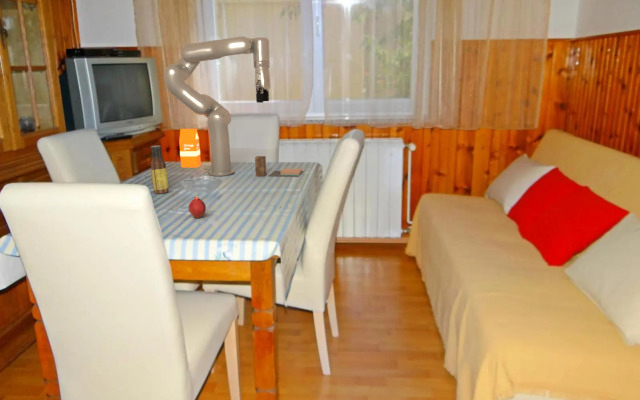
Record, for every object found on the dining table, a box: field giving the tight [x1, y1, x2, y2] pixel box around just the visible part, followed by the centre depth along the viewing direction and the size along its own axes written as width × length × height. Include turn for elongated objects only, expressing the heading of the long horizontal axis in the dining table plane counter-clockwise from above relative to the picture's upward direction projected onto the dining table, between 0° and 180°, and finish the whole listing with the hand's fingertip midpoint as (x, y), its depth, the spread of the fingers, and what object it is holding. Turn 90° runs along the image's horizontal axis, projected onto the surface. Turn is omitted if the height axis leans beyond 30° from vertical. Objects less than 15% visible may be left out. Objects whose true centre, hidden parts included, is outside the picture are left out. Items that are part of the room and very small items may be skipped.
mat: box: [268, 170, 304, 178], centre depth 252 cm, size 15×14×1 cm
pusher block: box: [254, 155, 267, 178], centre depth 247 cm, size 4×4×10 cm
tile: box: [280, 168, 303, 176], centre depth 252 cm, size 2×8×9 cm
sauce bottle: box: [150, 145, 170, 195], centre depth 218 cm, size 6×6×20 cm
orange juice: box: [178, 128, 202, 168], centre depth 277 cm, size 8×9×20 cm
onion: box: [188, 195, 207, 219], centre depth 181 cm, size 6×6×8 cm
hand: (262, 101), depth 249 cm, fingers open, 9 cm apart
